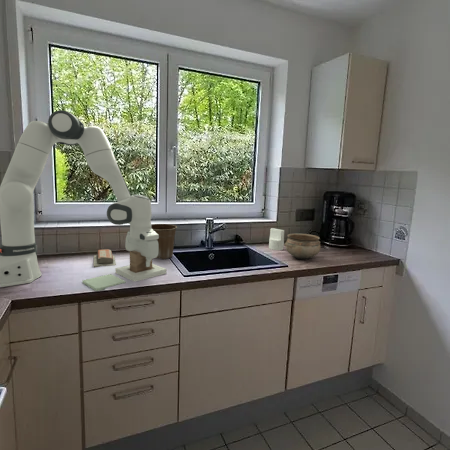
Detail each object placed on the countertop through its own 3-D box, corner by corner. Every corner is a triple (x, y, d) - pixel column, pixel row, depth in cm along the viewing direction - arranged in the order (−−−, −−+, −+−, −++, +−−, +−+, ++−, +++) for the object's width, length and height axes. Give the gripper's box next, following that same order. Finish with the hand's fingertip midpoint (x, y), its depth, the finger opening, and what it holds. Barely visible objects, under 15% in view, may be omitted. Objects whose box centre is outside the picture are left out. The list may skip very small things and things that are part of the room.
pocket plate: (134, 282, 127) (134, 276, 127) (115, 273, 137) (115, 268, 137) (166, 274, 139) (166, 268, 139) (146, 266, 149) (146, 261, 148)
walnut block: (136, 276, 133) (136, 253, 132) (129, 273, 137) (129, 251, 135) (152, 272, 139) (152, 250, 138) (145, 269, 142) (145, 248, 141)
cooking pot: (295, 265, 161) (297, 241, 159) (273, 255, 178) (274, 234, 176) (330, 260, 173) (332, 238, 171) (306, 252, 190) (308, 232, 187)
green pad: (96, 291, 117) (96, 288, 117) (82, 282, 125) (82, 280, 125) (125, 283, 126) (125, 281, 126) (110, 276, 134) (110, 273, 134)
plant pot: (162, 262, 157) (163, 230, 154) (138, 257, 164) (138, 226, 162) (182, 255, 171) (183, 226, 168) (159, 251, 178) (159, 222, 176)
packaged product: (93, 249, 160) (114, 248, 163) (93, 258, 161) (114, 257, 164) (93, 258, 143) (116, 257, 147) (93, 268, 144) (116, 267, 148)
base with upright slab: (265, 247, 196) (266, 228, 194) (274, 246, 202) (276, 227, 200) (277, 250, 189) (278, 231, 187) (286, 248, 196) (287, 229, 194)
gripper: (121, 229, 139) (121, 260, 142) (148, 237, 126) (148, 270, 128) (134, 228, 144) (134, 257, 146) (161, 235, 131) (161, 267, 133)
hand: (141, 264), depth 137 cm, fingers open, 8 cm apart
